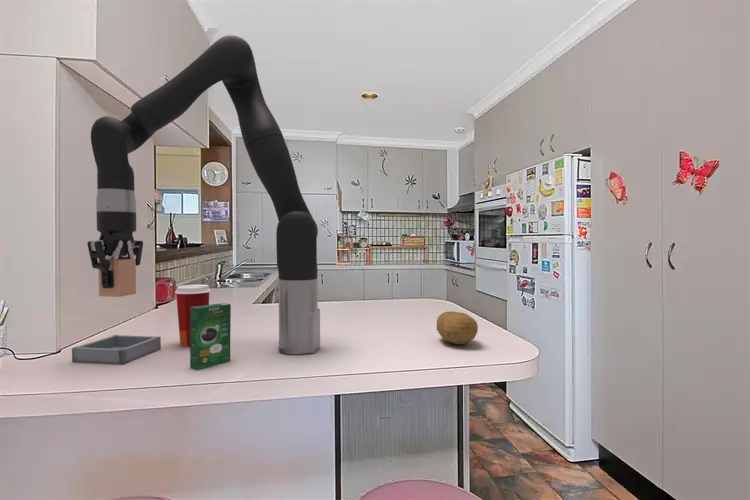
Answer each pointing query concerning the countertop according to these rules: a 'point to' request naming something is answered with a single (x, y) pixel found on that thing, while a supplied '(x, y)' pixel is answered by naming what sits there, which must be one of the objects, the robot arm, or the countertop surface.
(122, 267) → the light brown open box
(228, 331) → the coffee box
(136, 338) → the tray
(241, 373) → the countertop surface
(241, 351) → the countertop surface
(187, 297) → the coffee cup
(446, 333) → the potato
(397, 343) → the countertop surface
